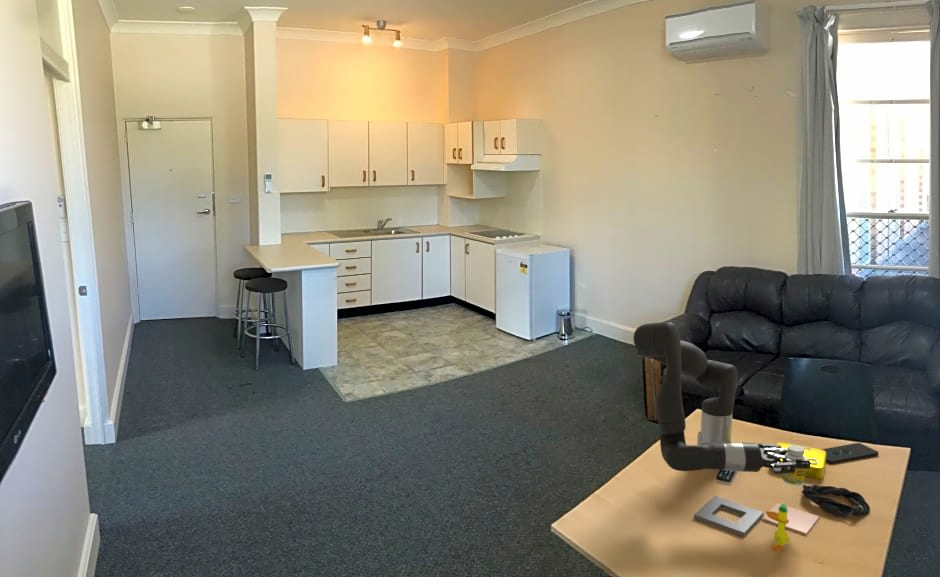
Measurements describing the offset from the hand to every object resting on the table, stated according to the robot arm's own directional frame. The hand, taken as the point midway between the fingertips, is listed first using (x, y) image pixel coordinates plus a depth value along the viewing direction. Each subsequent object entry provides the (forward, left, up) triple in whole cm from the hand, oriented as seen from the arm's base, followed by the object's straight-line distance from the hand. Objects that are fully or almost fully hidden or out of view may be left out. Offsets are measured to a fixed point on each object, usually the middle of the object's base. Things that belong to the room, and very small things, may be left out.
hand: (805, 459), depth 178 cm
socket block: (-15, -11, -18) cm, 26 cm away
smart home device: (-2, +52, -18) cm, 55 cm away
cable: (+4, +16, -18) cm, 24 cm away
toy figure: (0, -18, -18) cm, 25 cm away
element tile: (-11, +33, -18) cm, 40 cm away
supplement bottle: (-2, -2, -7) cm, 7 cm away
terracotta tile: (-2, -1, -18) cm, 18 cm away
